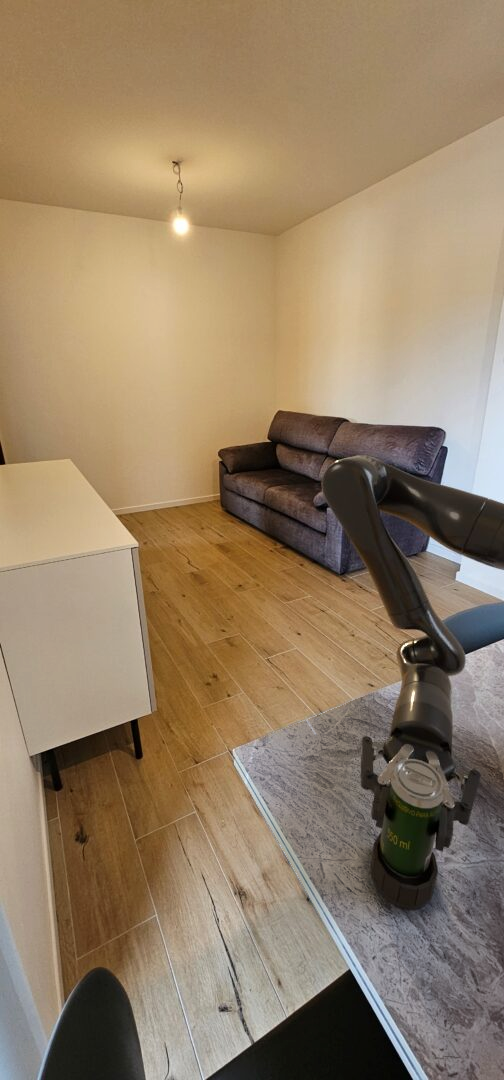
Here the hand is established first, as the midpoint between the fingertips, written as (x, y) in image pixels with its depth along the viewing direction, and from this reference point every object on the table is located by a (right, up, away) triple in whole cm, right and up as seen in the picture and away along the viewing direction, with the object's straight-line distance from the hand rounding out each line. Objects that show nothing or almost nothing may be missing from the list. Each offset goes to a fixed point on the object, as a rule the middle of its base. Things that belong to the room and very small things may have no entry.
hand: (409, 832), depth 47 cm
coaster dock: (+1, -9, +5) cm, 10 cm away
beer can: (+1, -6, +5) cm, 8 cm away
